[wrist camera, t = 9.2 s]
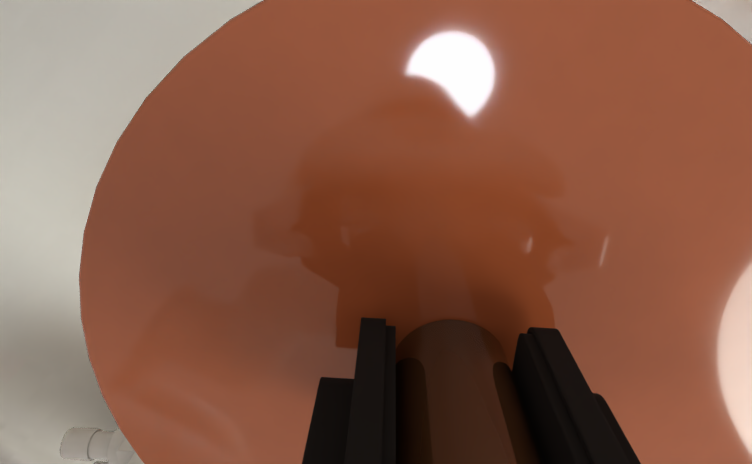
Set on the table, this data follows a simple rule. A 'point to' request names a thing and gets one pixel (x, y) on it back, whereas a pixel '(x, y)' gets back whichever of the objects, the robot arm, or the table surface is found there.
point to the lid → (431, 227)
